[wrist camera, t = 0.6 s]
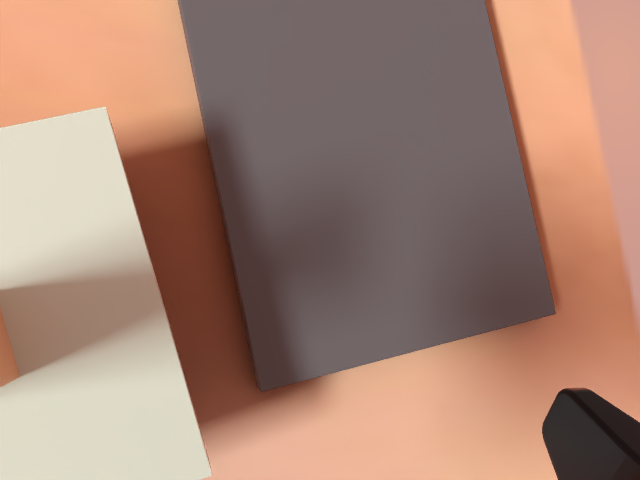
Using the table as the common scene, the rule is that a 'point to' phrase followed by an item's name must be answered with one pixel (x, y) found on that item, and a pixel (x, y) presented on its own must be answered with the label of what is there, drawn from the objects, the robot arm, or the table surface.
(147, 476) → the lid
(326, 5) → the mat
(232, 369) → the table surface
